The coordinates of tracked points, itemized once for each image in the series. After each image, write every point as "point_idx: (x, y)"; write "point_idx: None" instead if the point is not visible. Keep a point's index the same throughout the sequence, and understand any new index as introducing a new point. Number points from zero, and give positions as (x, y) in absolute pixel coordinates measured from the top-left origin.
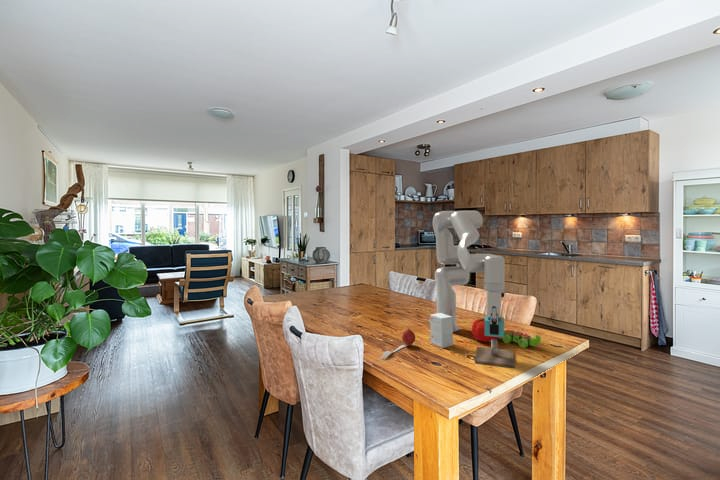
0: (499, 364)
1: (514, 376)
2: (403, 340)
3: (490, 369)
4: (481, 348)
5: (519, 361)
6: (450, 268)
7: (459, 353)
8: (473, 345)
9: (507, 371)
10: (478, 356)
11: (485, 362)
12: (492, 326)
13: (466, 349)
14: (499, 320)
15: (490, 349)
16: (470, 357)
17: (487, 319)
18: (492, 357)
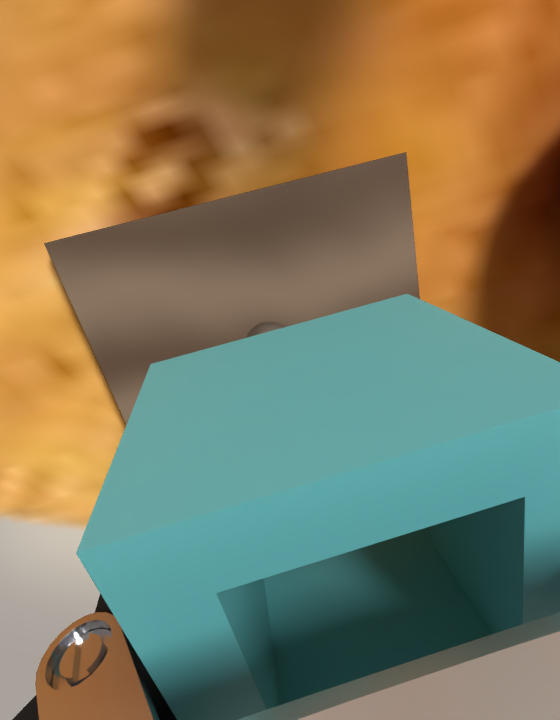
0: (125, 416)
1: (26, 519)
2: None
3: (20, 381)
4: (374, 207)
5: None
6: None
7: (191, 21)
8: (476, 94)
9: (73, 471)
10: (161, 244)
11: (84, 328)
12: (102, 608)
13: (340, 59)
14: (483, 618)
15: (384, 282)
16: (156, 165)
17: (254, 563)
18: (213, 346)
